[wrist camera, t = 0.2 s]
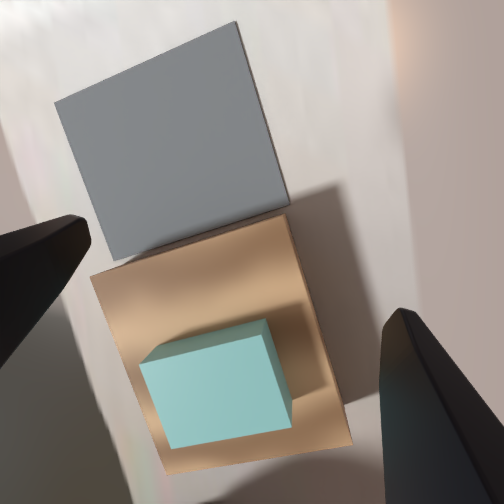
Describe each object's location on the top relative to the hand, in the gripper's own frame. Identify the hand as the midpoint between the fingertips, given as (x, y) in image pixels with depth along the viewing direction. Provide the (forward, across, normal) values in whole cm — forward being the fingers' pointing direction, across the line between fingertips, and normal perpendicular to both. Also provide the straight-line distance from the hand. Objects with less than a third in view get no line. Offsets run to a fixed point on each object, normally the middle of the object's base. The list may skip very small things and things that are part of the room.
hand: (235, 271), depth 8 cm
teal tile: (+3, 0, +13) cm, 14 cm away
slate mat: (+14, +9, +4) cm, 17 cm away
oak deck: (+8, 0, +15) cm, 17 cm away
